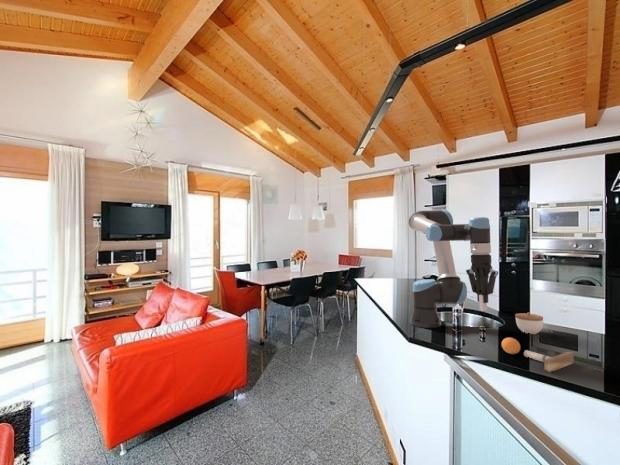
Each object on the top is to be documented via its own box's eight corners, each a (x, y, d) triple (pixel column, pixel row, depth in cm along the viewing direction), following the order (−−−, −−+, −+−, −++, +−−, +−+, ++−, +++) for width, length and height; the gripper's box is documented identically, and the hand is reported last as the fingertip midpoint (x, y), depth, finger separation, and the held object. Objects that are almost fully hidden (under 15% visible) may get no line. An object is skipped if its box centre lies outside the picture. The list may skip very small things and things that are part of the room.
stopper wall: (544, 371, 99) (543, 360, 99) (568, 361, 107) (567, 351, 107) (549, 372, 98) (549, 361, 98) (573, 363, 105) (573, 352, 105)
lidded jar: (545, 336, 135) (544, 315, 135) (516, 333, 141) (515, 313, 141) (542, 330, 144) (541, 311, 144) (515, 328, 150) (514, 309, 150)
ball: (510, 347, 111) (496, 347, 116) (522, 357, 111) (507, 357, 117) (514, 333, 114) (500, 334, 119) (525, 344, 114) (510, 344, 120)
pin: (522, 352, 111) (549, 360, 104) (526, 348, 112) (552, 355, 105) (525, 358, 112) (551, 366, 104) (528, 354, 113) (554, 361, 105)
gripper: (460, 254, 131) (463, 308, 130) (490, 254, 120) (493, 314, 119) (472, 253, 135) (474, 306, 134) (501, 253, 123) (504, 312, 122)
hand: (483, 310), depth 126 cm, fingers closed
